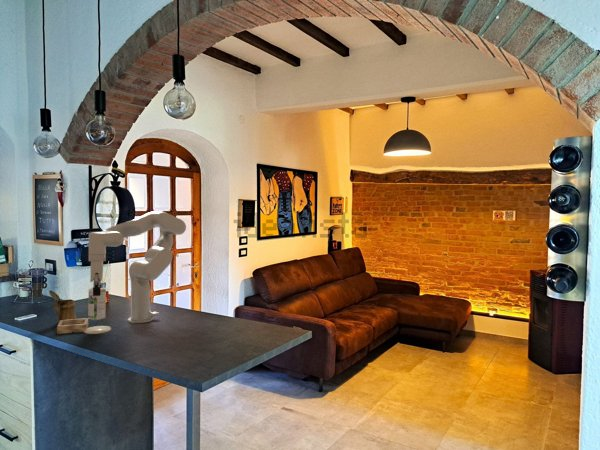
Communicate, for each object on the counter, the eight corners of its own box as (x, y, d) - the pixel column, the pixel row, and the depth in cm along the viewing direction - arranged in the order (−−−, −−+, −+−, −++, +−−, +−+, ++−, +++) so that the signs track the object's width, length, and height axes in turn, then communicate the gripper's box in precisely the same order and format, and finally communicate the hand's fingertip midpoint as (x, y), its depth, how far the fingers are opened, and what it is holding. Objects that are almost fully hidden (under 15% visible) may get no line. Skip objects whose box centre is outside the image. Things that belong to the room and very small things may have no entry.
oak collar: (88, 324, 220) (88, 318, 220) (86, 331, 209) (86, 324, 209) (60, 327, 215) (60, 320, 215) (57, 333, 204) (57, 326, 204)
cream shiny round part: (111, 326, 219) (111, 324, 218) (110, 332, 207) (110, 331, 207) (84, 328, 214) (84, 327, 214) (82, 335, 203) (82, 333, 203)
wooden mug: (44, 324, 219) (44, 289, 219) (70, 319, 231) (70, 285, 230) (54, 327, 215) (54, 291, 214) (80, 321, 226) (80, 287, 226)
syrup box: (87, 318, 209) (87, 288, 209) (98, 316, 214) (99, 287, 214) (95, 320, 206) (95, 290, 206) (106, 318, 211) (106, 288, 211)
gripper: (89, 256, 216) (89, 291, 217) (87, 259, 200) (87, 297, 200) (106, 255, 219) (106, 290, 219) (105, 259, 203) (105, 297, 203)
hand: (97, 293), depth 210 cm, fingers closed on syrup box, 8 cm apart
